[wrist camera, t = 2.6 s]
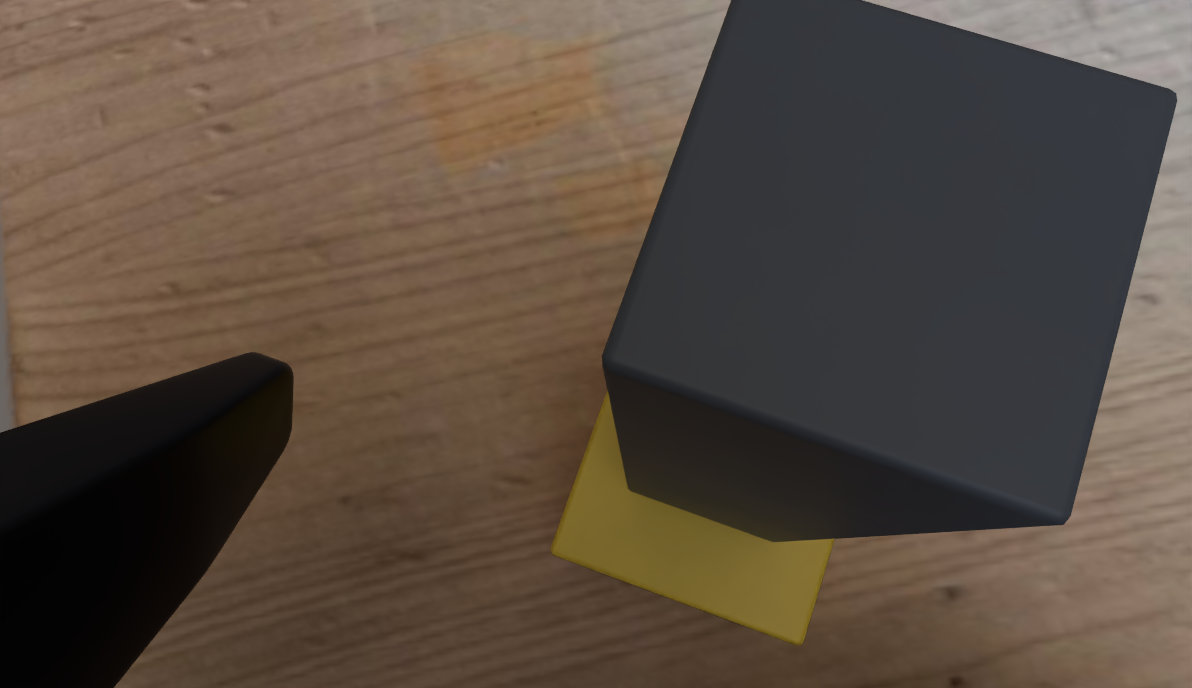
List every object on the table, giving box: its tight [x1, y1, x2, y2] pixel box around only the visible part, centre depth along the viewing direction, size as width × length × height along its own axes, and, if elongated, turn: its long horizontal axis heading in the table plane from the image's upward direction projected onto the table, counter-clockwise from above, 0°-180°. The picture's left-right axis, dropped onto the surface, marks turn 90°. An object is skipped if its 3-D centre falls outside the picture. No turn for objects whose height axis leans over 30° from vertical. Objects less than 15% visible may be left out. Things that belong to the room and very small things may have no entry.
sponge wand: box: [551, 0, 1177, 645], centre depth 12 cm, size 5×4×14 cm
